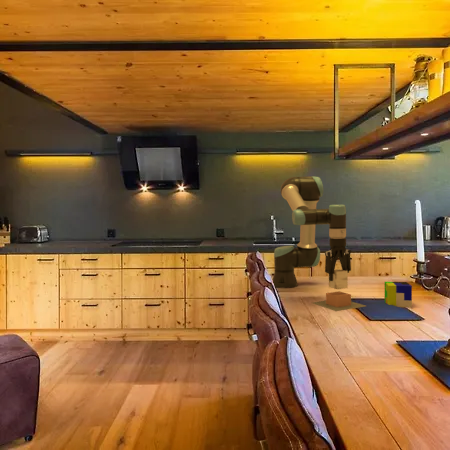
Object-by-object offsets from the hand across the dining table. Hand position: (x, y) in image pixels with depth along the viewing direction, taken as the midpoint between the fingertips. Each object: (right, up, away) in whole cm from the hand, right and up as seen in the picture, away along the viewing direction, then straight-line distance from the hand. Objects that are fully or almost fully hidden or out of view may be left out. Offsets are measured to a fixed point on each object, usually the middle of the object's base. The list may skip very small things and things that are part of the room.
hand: (338, 287), depth 190 cm
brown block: (0, 0, 0) cm, 0 cm away
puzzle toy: (+28, -9, +1) cm, 30 cm away
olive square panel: (0, -9, +1) cm, 9 cm away
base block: (0, -8, 0) cm, 8 cm away
